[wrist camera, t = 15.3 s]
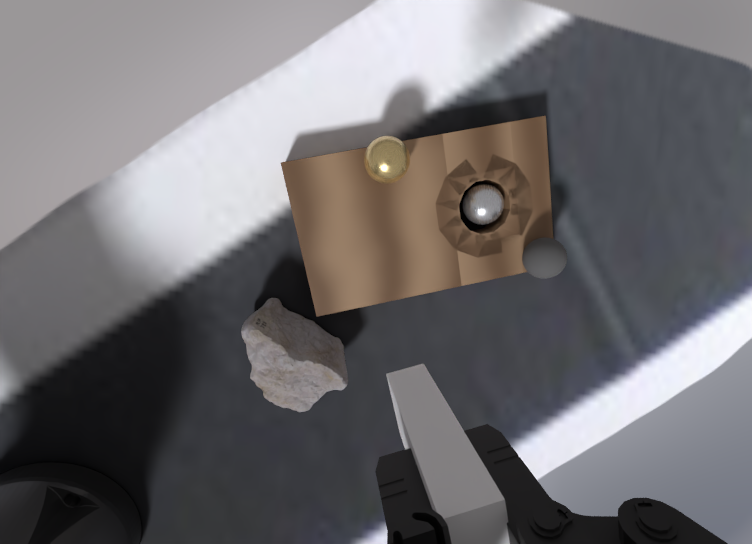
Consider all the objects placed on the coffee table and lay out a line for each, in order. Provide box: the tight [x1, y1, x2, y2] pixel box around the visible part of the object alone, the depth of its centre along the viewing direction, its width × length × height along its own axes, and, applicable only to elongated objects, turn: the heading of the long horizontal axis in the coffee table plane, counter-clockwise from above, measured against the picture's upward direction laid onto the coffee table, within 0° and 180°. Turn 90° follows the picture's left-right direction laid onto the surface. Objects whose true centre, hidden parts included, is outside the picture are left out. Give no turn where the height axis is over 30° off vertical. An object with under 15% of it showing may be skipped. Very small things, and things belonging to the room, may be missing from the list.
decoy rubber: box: [522, 237, 567, 279], centre depth 32 cm, size 4×4×4 cm
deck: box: [281, 116, 553, 317], centre depth 33 cm, size 22×13×2 cm, turn 100°
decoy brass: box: [364, 136, 410, 184], centre depth 28 cm, size 4×4×4 cm
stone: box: [241, 298, 348, 412], centre depth 33 cm, size 10×8×6 cm
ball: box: [462, 184, 504, 225], centre depth 33 cm, size 4×4×4 cm
